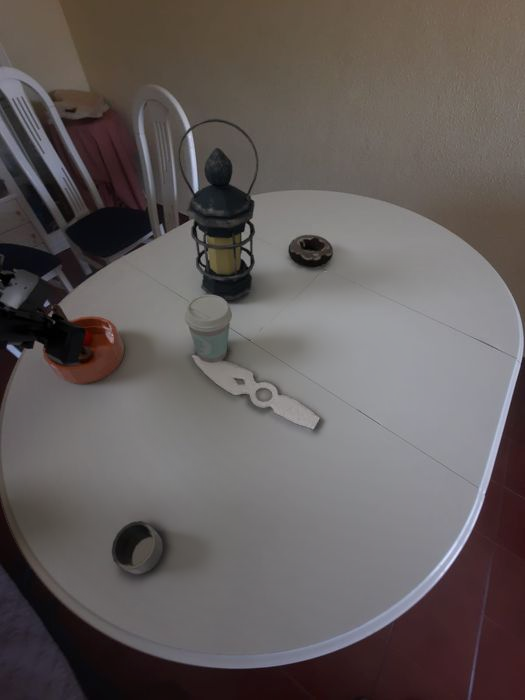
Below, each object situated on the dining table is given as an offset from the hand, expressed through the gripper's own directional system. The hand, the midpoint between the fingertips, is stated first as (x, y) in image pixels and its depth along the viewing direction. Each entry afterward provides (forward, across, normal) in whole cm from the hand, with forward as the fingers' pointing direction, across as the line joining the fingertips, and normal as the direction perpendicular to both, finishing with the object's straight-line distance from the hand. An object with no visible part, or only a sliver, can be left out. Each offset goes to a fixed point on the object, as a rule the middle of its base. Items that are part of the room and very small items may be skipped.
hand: (76, 328), depth 62 cm
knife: (+11, -32, 0) cm, 34 cm away
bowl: (+5, 0, +6) cm, 8 cm away
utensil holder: (-10, -32, +21) cm, 39 cm away
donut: (+42, -26, -32) cm, 59 cm away
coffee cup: (+14, -21, -3) cm, 25 cm away
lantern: (+27, -14, -16) cm, 34 cm away
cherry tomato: (+5, +3, +3) cm, 6 cm away
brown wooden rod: (+4, 0, +6) cm, 7 cm away
